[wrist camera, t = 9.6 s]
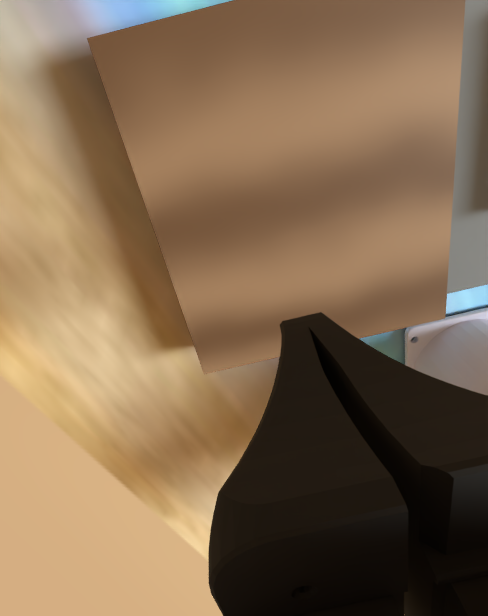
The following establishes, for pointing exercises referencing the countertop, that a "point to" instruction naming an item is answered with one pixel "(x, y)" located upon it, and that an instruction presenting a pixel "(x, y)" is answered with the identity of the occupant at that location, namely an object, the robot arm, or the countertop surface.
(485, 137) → the mat
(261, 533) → the robot arm
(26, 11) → the countertop surface
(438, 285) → the brown wooden slab
